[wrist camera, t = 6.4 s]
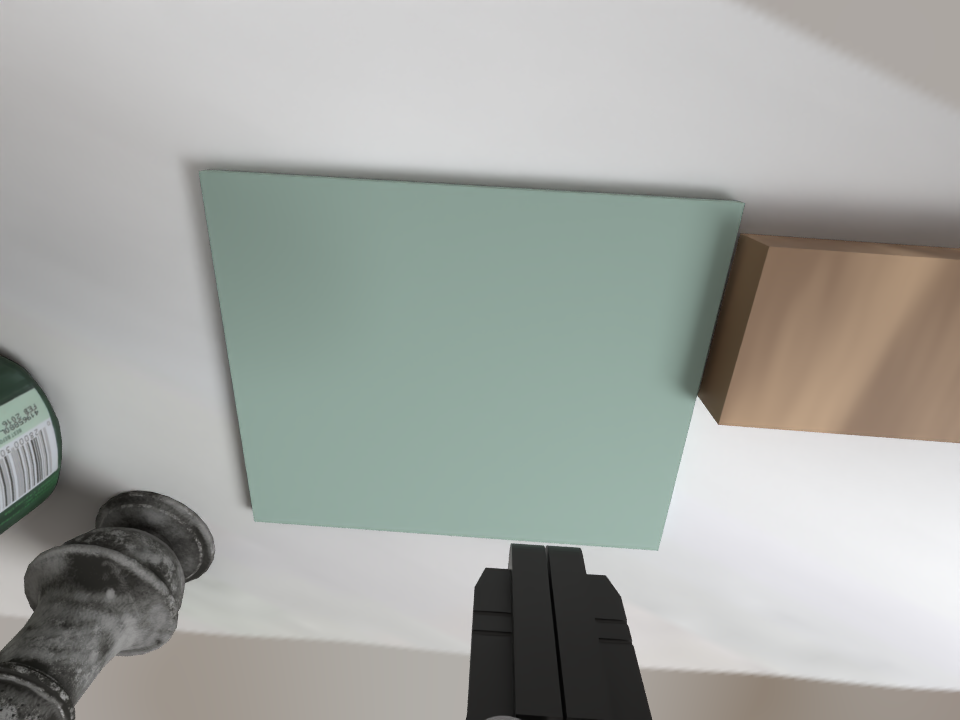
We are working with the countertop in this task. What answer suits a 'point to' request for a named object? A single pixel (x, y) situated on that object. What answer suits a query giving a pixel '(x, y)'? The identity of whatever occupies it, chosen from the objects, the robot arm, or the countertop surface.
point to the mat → (465, 351)
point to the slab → (838, 339)
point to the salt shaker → (101, 602)
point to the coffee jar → (25, 444)
